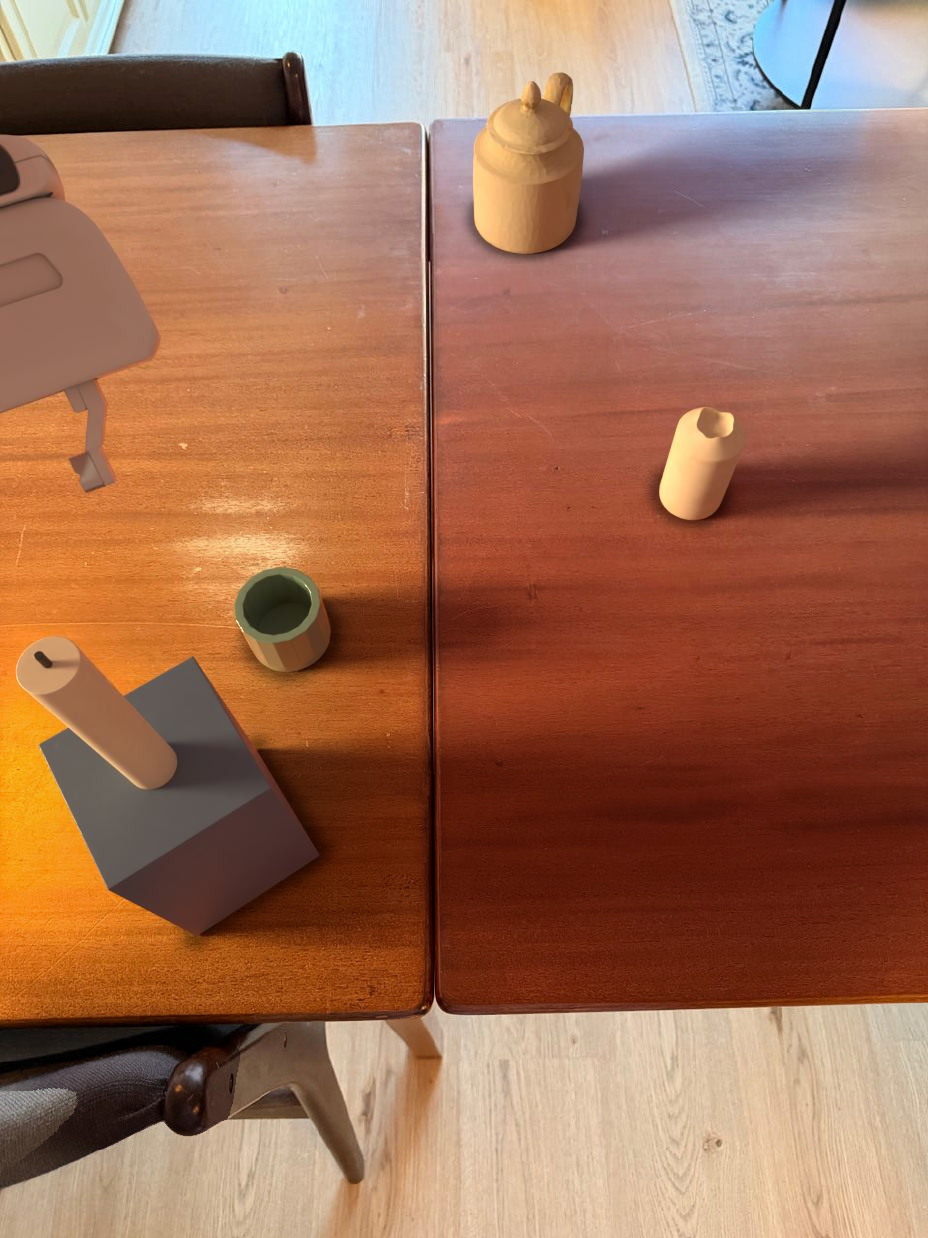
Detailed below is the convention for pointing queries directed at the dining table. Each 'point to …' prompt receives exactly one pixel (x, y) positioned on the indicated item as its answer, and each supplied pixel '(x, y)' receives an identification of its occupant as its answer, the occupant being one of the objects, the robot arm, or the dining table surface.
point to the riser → (183, 809)
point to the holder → (283, 619)
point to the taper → (95, 710)
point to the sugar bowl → (529, 170)
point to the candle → (701, 462)
